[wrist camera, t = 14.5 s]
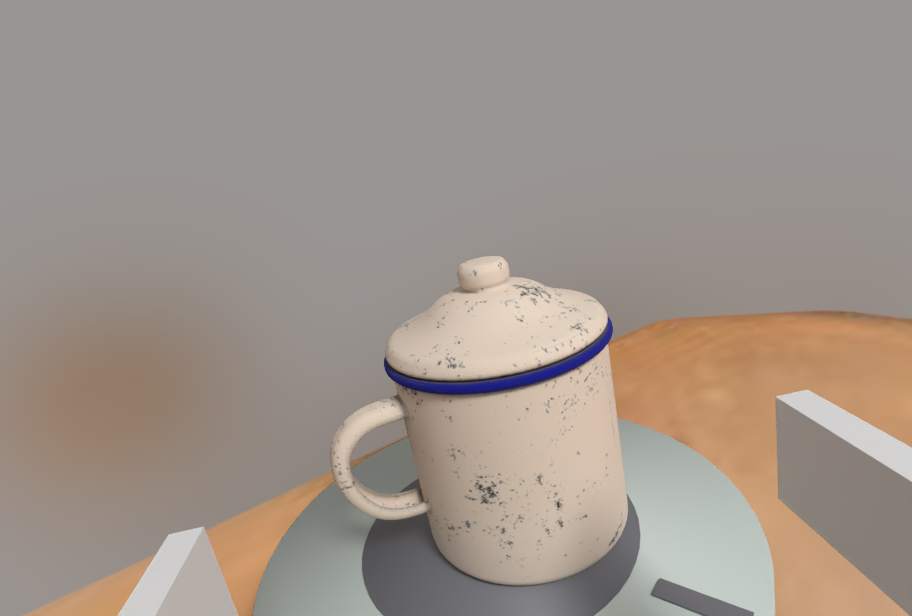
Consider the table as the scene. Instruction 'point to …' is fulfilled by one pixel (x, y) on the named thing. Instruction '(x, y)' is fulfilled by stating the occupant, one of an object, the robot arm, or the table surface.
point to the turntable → (543, 605)
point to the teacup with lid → (502, 428)
